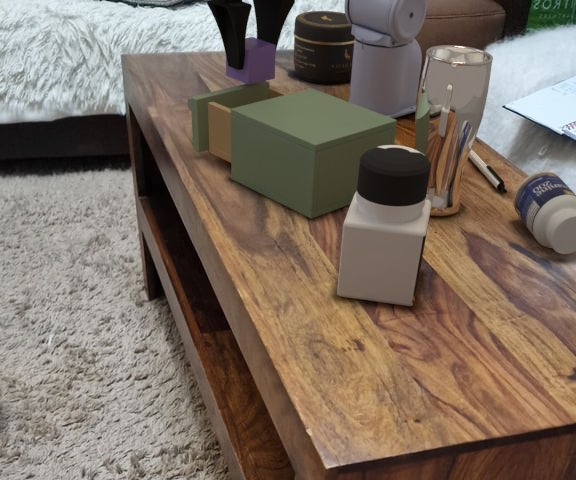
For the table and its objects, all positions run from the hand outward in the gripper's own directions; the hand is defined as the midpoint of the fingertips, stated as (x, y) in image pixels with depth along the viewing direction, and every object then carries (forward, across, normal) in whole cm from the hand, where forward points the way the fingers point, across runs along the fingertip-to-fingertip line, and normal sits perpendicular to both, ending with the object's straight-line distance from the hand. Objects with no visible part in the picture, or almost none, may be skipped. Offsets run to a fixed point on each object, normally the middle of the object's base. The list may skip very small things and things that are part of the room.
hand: (251, 64), depth 92 cm
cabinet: (+9, +3, +14) cm, 17 cm away
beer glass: (+9, -4, +27) cm, 29 cm away
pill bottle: (+6, -10, +36) cm, 37 cm away
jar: (+9, -28, -15) cm, 33 cm away
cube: (+1, 0, 0) cm, 1 cm away
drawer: (+8, +3, +4) cm, 9 cm away
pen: (+9, -18, +22) cm, 30 cm away
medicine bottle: (+9, +14, +35) cm, 39 cm away
